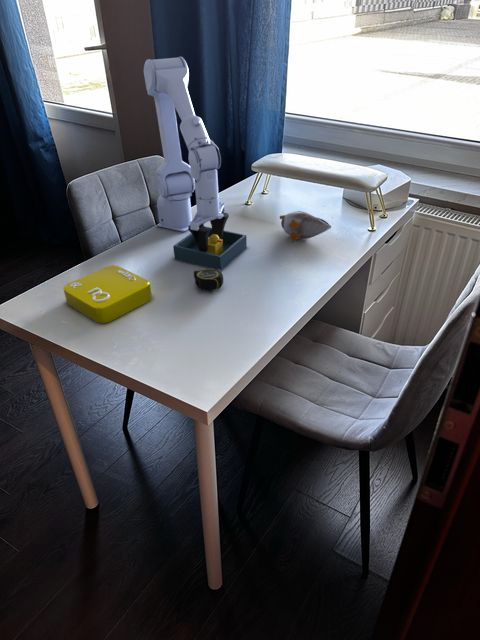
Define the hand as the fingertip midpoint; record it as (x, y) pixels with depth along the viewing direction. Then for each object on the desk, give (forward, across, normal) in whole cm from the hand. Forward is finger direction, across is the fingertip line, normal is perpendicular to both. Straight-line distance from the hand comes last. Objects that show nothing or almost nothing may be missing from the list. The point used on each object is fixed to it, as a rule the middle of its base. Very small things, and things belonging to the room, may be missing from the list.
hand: (210, 245), depth 135 cm
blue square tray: (+2, 0, 0) cm, 2 cm away
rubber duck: (+2, 0, 0) cm, 2 cm away
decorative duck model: (+3, +22, -18) cm, 29 cm away
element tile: (+3, -31, +9) cm, 32 cm away
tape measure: (+3, -15, -8) cm, 17 cm away
